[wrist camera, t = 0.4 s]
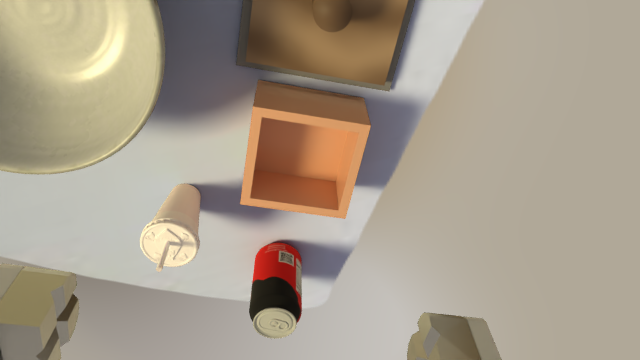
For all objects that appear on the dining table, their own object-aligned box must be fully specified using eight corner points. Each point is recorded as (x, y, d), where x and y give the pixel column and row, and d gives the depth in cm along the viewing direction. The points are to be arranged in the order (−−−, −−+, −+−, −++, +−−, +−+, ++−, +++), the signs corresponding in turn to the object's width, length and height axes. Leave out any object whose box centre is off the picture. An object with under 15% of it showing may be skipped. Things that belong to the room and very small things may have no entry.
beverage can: (266, 232, 67) (259, 299, 56) (308, 247, 68) (310, 314, 58) (248, 264, 70) (240, 333, 59) (290, 278, 71) (288, 347, 61)
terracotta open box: (258, 79, 55) (252, 106, 49) (363, 97, 56) (371, 125, 51) (245, 171, 61) (239, 204, 55) (341, 184, 63) (345, 218, 57)
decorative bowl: (225, -82, 46) (204, -65, 36) (155, 150, 59) (125, 211, 49) (-98, -233, 40) (-234, -264, 30) (-97, 65, 53) (-191, 114, 43)
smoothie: (210, 175, 61) (188, 250, 50) (212, 217, 65) (193, 296, 53) (157, 173, 61) (123, 248, 49) (162, 215, 64) (132, 295, 53)
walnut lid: (265, -102, 45) (261, -98, 41) (423, -67, 47) (436, -60, 43) (246, 57, 53) (241, 75, 48) (382, 81, 55) (389, 100, 50)
